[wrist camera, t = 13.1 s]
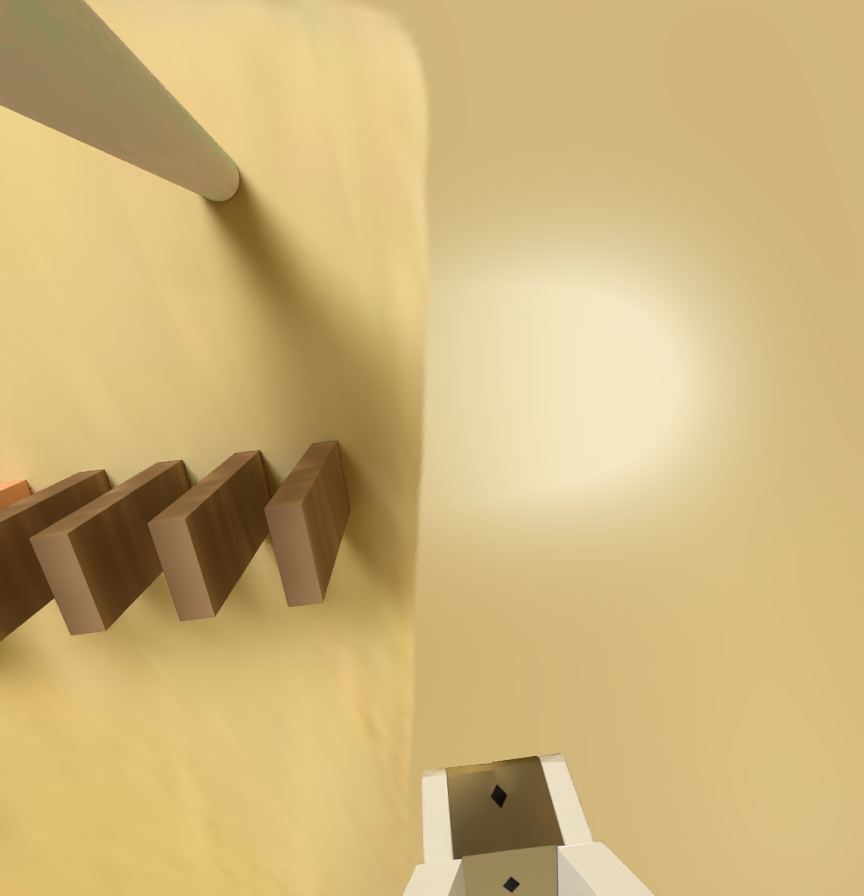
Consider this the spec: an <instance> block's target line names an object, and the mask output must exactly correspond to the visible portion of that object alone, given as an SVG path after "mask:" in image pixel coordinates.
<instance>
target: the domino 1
mask: <svg viewBox="0 0 864 896" xmlns="http://www.w3.org/2000/svg"><path fill="white" fill-rule="evenodd" d="M31 495H32V494H31V492H30V489H29V487H28V485H27V482H26V480H21V481H13V482H5V483H0V510H2V509H4V508H6V507H8V506H10V505H12V504H14V503H16V502H18V501H20V500H23V499H25V498H27V497H29V496H31Z"/></svg>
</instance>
